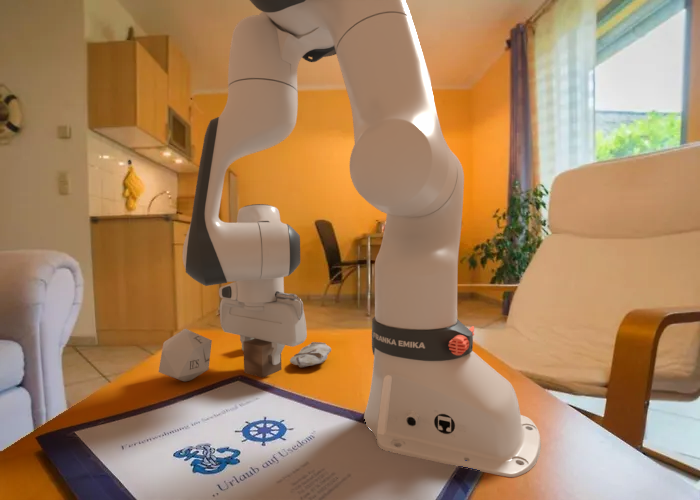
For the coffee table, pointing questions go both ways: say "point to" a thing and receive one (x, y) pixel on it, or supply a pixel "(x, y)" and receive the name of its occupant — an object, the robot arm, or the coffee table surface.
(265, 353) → the walnut block
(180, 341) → the die
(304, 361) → the stone
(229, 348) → the coffee table surface
